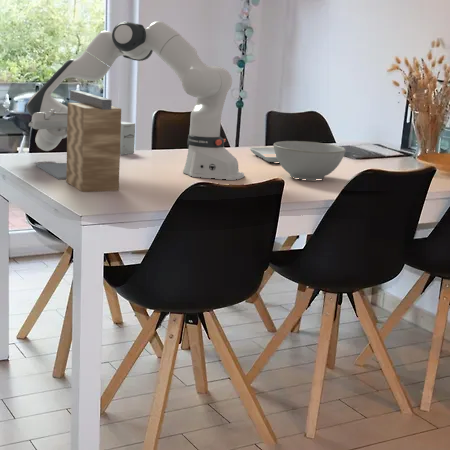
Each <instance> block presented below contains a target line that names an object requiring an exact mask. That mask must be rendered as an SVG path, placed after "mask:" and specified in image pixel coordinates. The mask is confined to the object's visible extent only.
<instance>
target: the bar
mask: <svg viewBox="0 0 450 450" xmlns="http://www.w3.org/2000/svg"><path fill="white" fill-rule="evenodd" d="M69 94H70V95H69V99H70V101H74V102H76V103H83V104H86V105H89V106H93V107H96V108H99V109H102V110H111V106H113V104H112V103H113V102H112V99H111V98H107V97H103V96H100V95H98V94H97V95H96V94H93V93H89V92H85V91H82V90H76V89H75V90H72V89H71V90H69Z"/></svg>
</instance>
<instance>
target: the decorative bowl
mask: <svg viewBox="0 0 450 450" xmlns="http://www.w3.org/2000/svg"><path fill="white" fill-rule="evenodd" d="M273 148H274V151H275V154H276V157H277V159H278V161H279V163H280V164H279V165H280V166H281V167H282V168H283V170H284V171H286V172H287V173H288V174H289V177H290V176H291V177H294V178H299V179H306V180H316V179H322V178H323V179H324V178H325V177H326V176H328V175H330V174H331V173H333V172H334V171H335V170H336V168H337V167H338V166H339V165H340V163H341V162H342V160H343V158H344V156H345V154H346V148H344V147H343V146H340V145H336V144H331V143H323V142H316V141H303V140H302V141H301V140H300V141H298V140H283V141H276V142H274V143H273ZM291 177H290V178H291Z"/></svg>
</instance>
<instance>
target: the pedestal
mask: <svg viewBox="0 0 450 450" xmlns="http://www.w3.org/2000/svg"><path fill="white" fill-rule="evenodd" d="M67 107H68V113H67V137H66V163H67V172H66V179H65V180H66V183H67V184H69V185H70V186H73V187H74V188H75V189H77V190H79V191H81V192H83V193H91V192H112V191H113V192H114V191H115V192H117V191H120V186H119V185H120V164H121V163H120V160H121V155H120V137H121V122H122V108H120V107H117V106H113V105H111V110H102V109H99V108H96V107H93V106H89V105H86V104H83V103H80V102H67Z"/></svg>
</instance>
